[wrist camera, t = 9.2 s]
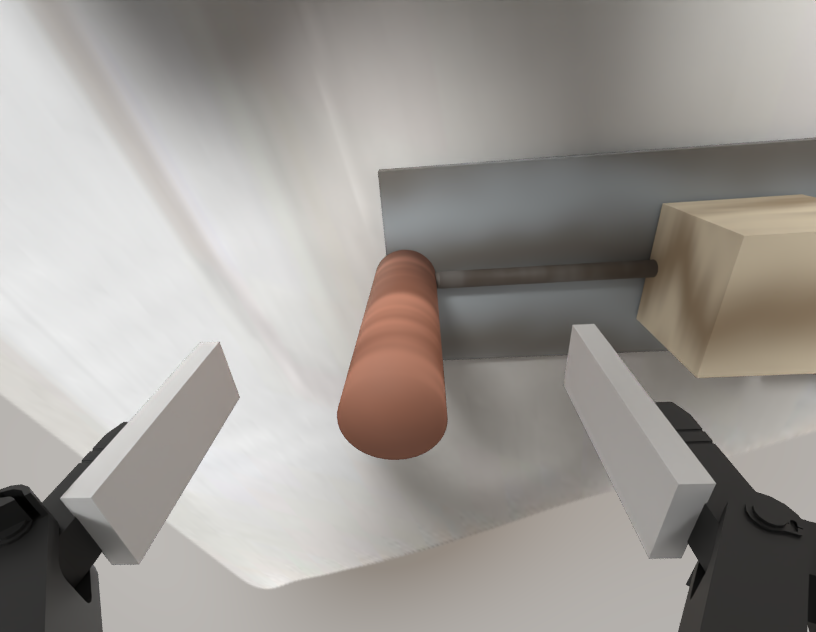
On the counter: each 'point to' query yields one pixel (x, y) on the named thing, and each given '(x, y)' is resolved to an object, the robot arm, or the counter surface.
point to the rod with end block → (662, 293)
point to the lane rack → (565, 233)
